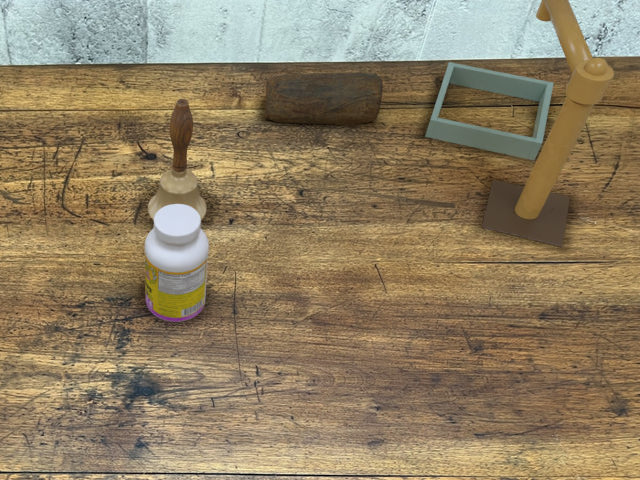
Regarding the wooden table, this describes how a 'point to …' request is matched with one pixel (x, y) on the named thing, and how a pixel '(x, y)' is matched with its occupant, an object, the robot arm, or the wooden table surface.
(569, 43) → the spout
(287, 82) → the dark brown wooden log
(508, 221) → the tap mount
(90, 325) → the wooden table surface
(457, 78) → the grey-green rectangular frame
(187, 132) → the hand bell
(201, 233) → the supplement bottle
